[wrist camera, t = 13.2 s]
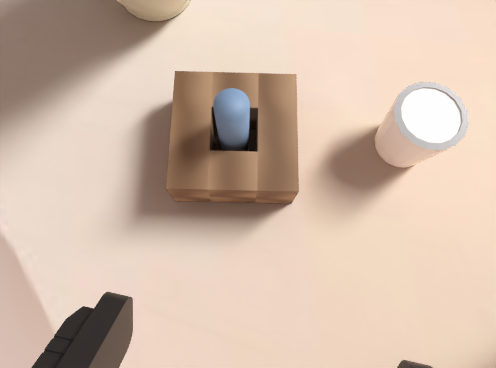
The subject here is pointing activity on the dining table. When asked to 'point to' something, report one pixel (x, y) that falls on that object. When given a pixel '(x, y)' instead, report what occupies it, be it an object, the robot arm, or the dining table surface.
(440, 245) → the dining table surface
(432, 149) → the white cup
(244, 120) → the peg
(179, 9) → the lamp
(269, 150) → the hole block
